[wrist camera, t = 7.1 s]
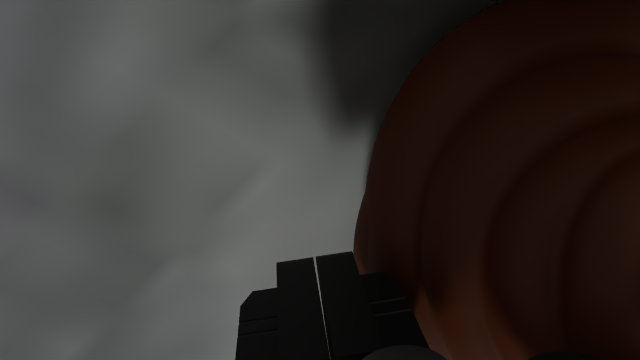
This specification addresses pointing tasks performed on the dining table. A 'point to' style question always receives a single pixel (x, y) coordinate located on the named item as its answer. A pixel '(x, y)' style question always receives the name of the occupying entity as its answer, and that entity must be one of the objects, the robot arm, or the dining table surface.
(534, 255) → the poop emoji
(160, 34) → the dining table surface
